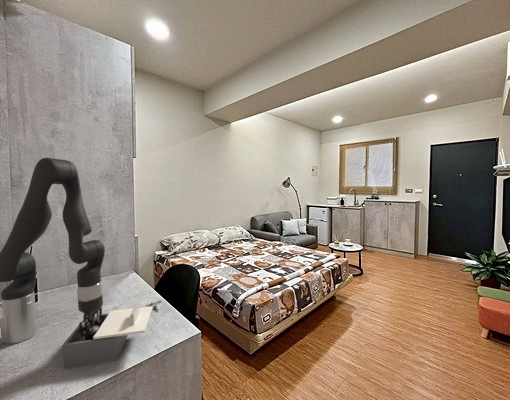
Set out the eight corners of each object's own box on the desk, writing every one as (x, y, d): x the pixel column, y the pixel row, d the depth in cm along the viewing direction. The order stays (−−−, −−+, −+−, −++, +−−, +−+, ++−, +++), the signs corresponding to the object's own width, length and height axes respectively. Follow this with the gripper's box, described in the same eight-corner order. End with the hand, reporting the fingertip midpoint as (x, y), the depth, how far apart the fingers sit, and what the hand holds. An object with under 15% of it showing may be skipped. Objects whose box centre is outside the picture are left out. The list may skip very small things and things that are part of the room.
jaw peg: (85, 350, 87) (85, 331, 87) (89, 344, 91) (89, 326, 91) (96, 349, 88) (96, 330, 88) (100, 343, 92) (100, 325, 92)
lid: (93, 339, 81) (92, 325, 81) (110, 312, 97) (110, 301, 97) (144, 332, 85) (144, 319, 84) (152, 308, 101) (152, 297, 101)
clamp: (134, 317, 106) (128, 308, 113) (134, 322, 106) (128, 313, 113) (168, 305, 116) (160, 298, 123) (168, 310, 116) (160, 302, 123)
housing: (63, 368, 79) (61, 345, 78) (87, 334, 96) (86, 315, 96) (116, 360, 83) (115, 338, 82) (130, 329, 100) (129, 310, 100)
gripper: (87, 287, 94) (89, 328, 96) (68, 306, 80) (71, 353, 82) (108, 285, 96) (110, 325, 97) (93, 303, 82) (96, 350, 84)
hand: (92, 338), depth 90 cm, fingers open, 5 cm apart
